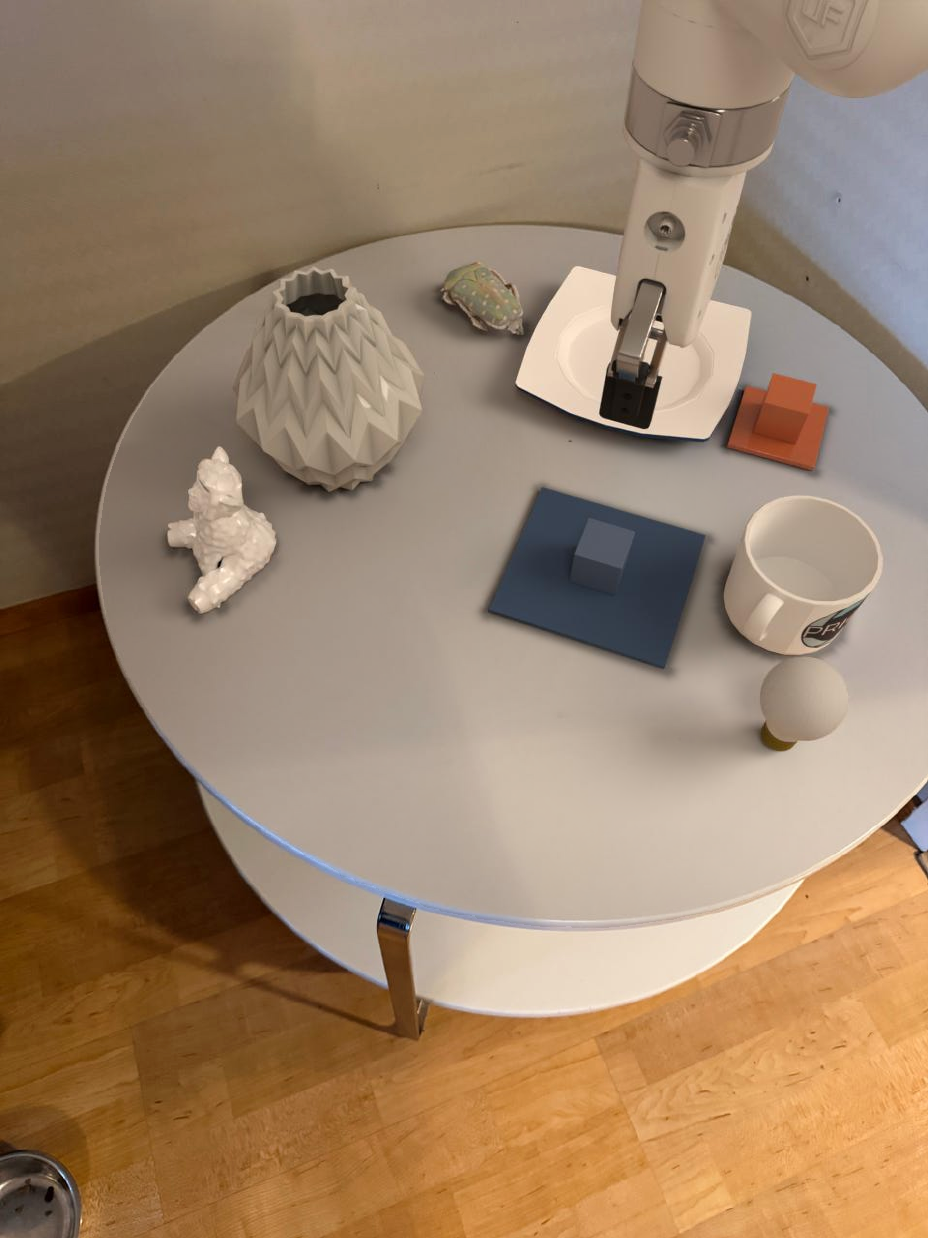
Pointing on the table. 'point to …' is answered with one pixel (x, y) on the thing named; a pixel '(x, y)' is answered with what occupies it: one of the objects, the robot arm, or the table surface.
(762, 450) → the terracotta tile
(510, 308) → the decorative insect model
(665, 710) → the table surface
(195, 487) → the sitting furry creature
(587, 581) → the slate block
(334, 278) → the vase
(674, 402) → the plate
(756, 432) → the terracotta block
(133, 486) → the table surface
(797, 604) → the mug
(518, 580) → the navy blue mat
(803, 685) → the light bulb
